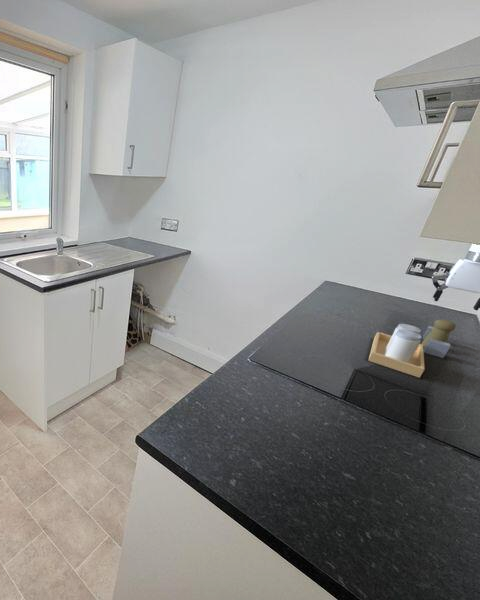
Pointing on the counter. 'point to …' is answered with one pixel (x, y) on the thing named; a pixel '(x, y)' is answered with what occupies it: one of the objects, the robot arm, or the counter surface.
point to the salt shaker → (403, 345)
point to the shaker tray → (412, 368)
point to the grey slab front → (436, 348)
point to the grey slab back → (427, 331)
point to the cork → (440, 331)
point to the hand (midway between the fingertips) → (454, 304)
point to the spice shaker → (403, 327)
